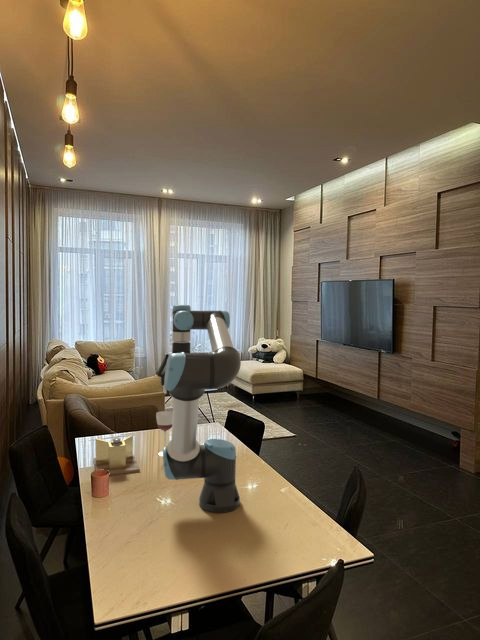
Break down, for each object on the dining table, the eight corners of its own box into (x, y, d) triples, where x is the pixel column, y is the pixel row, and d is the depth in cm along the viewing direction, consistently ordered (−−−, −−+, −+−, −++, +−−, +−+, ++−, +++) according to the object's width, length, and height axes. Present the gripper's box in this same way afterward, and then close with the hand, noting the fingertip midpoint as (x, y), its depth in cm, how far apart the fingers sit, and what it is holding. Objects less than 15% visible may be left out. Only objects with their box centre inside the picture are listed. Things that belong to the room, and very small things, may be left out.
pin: (118, 467, 195) (118, 440, 195) (111, 466, 196) (111, 440, 195) (121, 464, 198) (121, 438, 198) (114, 464, 199) (114, 437, 198)
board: (139, 471, 194) (139, 468, 194) (96, 477, 187) (96, 474, 187) (132, 455, 213) (133, 453, 213) (93, 460, 206) (93, 458, 206)
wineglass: (172, 456, 212) (172, 415, 211) (154, 456, 212) (154, 415, 211) (175, 451, 220) (175, 411, 219) (157, 450, 220) (157, 410, 219)
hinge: (136, 466, 197) (136, 443, 197) (97, 470, 191) (97, 448, 190) (132, 455, 209) (132, 435, 209) (95, 460, 203) (95, 438, 203)
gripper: (207, 340, 194) (206, 388, 195) (149, 341, 184) (149, 392, 185) (212, 342, 187) (211, 391, 188) (153, 343, 177) (152, 395, 178)
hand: (180, 392), depth 187 cm, fingers open, 13 cm apart
